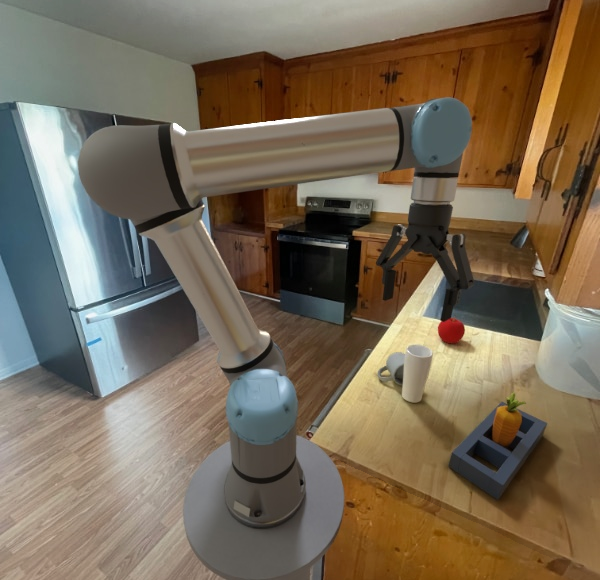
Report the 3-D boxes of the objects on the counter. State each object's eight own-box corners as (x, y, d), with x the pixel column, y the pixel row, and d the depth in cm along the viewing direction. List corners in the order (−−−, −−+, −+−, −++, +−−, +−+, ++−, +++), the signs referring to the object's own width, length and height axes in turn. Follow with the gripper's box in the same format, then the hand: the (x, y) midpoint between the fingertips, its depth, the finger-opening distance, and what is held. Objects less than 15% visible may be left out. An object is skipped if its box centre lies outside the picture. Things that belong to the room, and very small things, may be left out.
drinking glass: (409, 387, 96) (417, 341, 90) (429, 399, 90) (438, 352, 85) (393, 395, 92) (400, 348, 86) (413, 408, 87) (422, 360, 81)
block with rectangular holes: (448, 466, 70) (451, 452, 69) (498, 413, 86) (501, 401, 84) (497, 500, 63) (503, 485, 62) (542, 436, 79) (547, 423, 77)
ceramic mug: (405, 369, 104) (408, 348, 101) (417, 385, 96) (420, 362, 93) (373, 371, 103) (375, 350, 100) (382, 387, 95) (385, 365, 92)
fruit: (467, 345, 119) (473, 320, 115) (446, 348, 117) (451, 322, 113) (450, 333, 127) (455, 309, 123) (430, 336, 125) (435, 312, 121)
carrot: (491, 438, 78) (507, 386, 72) (514, 452, 74) (533, 398, 68) (481, 448, 75) (497, 394, 69) (504, 463, 71) (523, 407, 65)
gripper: (513, 207, 54) (484, 324, 62) (387, 196, 71) (377, 288, 80) (494, 210, 49) (465, 335, 57) (365, 198, 67) (357, 295, 75)
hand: (414, 308), depth 69 cm, fingers open, 13 cm apart
